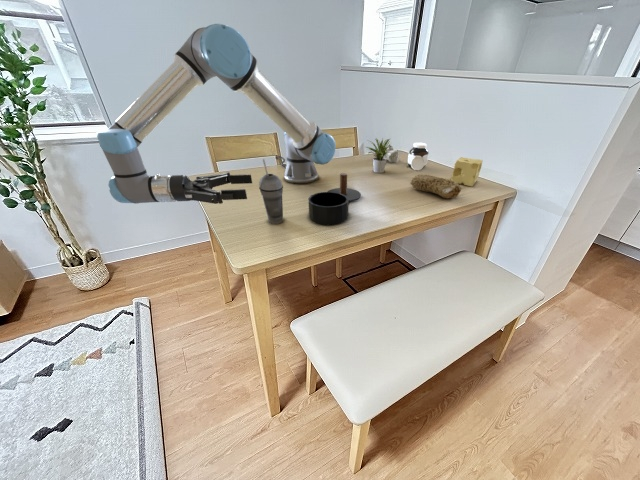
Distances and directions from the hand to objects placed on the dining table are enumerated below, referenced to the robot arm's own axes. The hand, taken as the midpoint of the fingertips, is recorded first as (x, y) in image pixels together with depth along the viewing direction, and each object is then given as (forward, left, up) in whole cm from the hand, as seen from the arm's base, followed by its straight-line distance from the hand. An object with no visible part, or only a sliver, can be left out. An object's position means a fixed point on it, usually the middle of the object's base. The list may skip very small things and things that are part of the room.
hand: (249, 186), depth 85 cm
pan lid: (-19, +33, -12) cm, 39 cm away
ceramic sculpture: (-70, +66, -12) cm, 97 cm away
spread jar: (-55, +78, -12) cm, 97 cm away
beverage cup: (0, +7, -12) cm, 14 cm away
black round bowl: (-1, +24, -12) cm, 27 cm away
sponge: (-19, +72, -12) cm, 75 cm away
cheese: (-31, +92, -12) cm, 98 cm away
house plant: (-52, +56, -12) cm, 78 cm away
